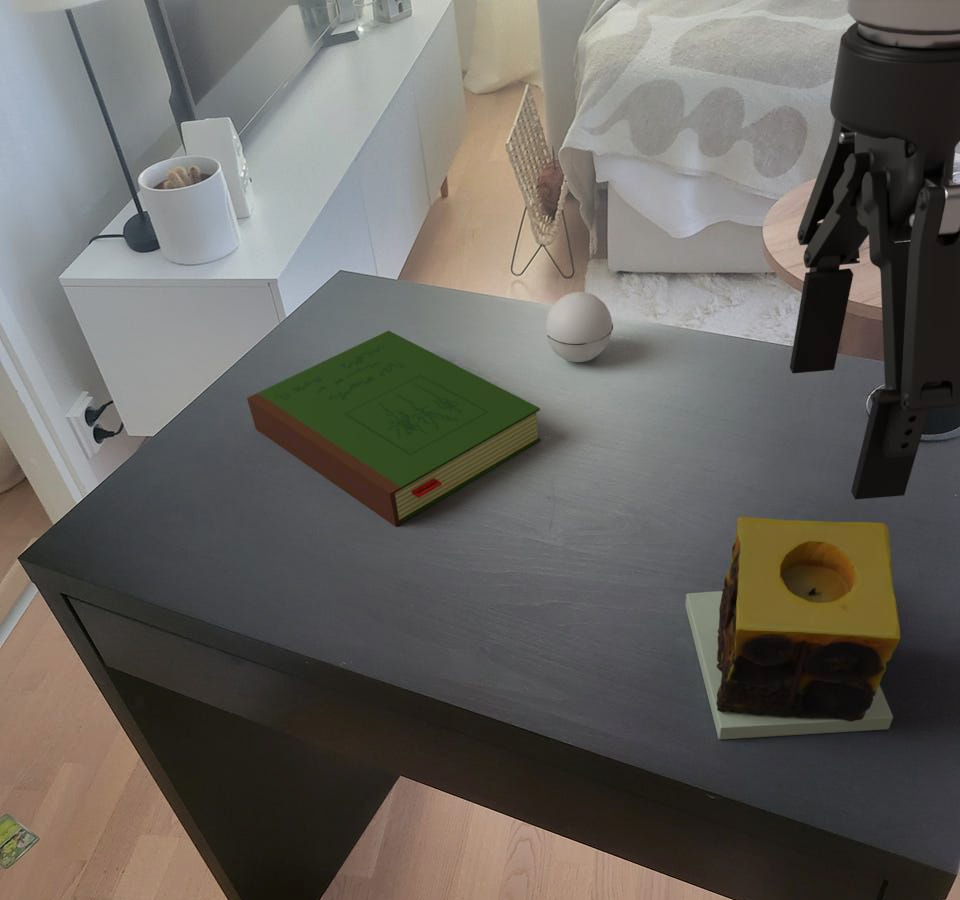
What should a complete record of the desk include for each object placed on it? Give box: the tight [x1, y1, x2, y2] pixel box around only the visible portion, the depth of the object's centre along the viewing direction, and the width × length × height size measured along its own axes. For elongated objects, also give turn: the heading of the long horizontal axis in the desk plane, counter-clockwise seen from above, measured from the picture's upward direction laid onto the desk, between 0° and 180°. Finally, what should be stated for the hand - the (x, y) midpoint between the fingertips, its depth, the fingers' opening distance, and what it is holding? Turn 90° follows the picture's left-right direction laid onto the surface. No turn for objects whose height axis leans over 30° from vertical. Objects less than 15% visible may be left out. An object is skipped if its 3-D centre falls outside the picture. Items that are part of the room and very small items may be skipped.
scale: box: [684, 590, 894, 740], centre depth 72 cm, size 13×15×3 cm
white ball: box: [544, 291, 632, 363], centre depth 103 cm, size 10×7×7 cm
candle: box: [716, 516, 901, 722], centre depth 65 cm, size 10×10×10 cm
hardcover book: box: [246, 330, 542, 527], centre depth 97 cm, size 25×19×4 cm
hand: (841, 426), depth 58 cm, fingers open, 13 cm apart
